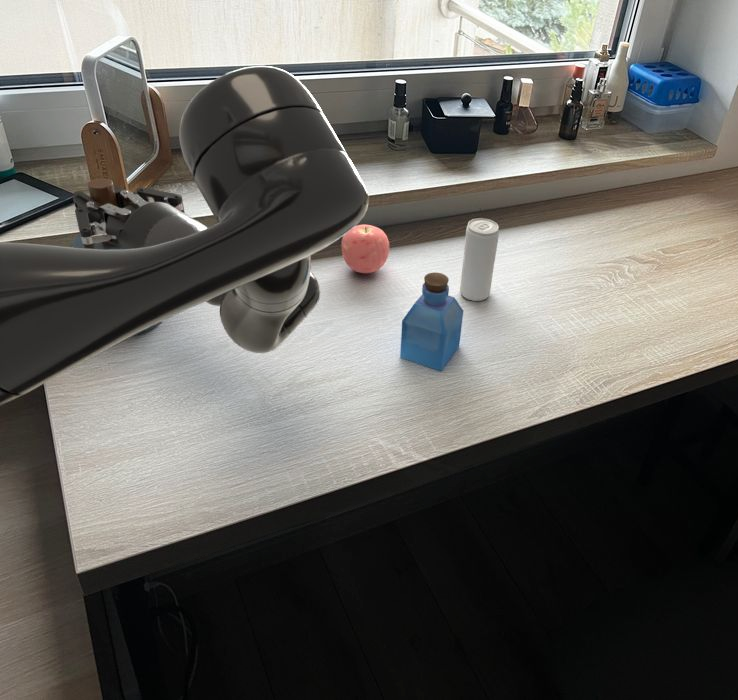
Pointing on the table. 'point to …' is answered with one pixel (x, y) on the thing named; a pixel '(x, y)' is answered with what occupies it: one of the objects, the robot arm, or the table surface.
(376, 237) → the apple
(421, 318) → the perfume bottle
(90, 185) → the lid
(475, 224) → the beverage can
